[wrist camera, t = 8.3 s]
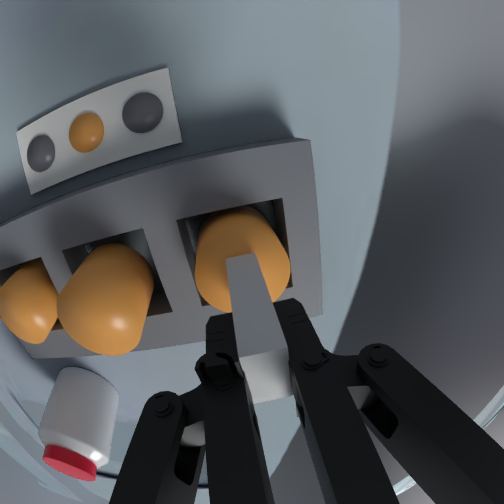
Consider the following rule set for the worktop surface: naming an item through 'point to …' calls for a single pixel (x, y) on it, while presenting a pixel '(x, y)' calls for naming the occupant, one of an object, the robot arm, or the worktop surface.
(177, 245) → the board
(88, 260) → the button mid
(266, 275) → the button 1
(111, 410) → the pill bottle
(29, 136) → the pattern card
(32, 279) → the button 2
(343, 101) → the worktop surface
